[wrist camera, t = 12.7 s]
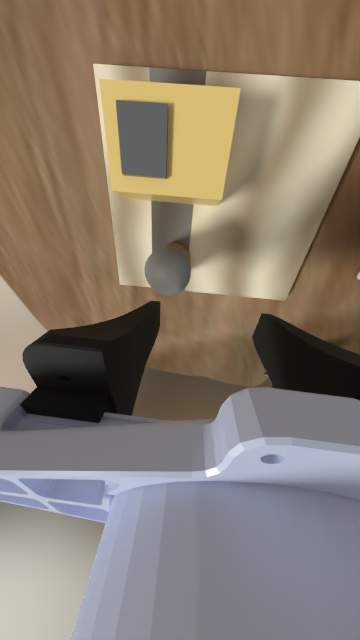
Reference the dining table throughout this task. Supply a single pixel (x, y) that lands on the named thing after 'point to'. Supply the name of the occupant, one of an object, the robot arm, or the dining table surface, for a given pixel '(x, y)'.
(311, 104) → the panel
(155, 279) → the brown cylindrical piece
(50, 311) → the dining table surface
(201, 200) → the stud finder
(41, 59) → the dining table surface
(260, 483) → the robot arm
